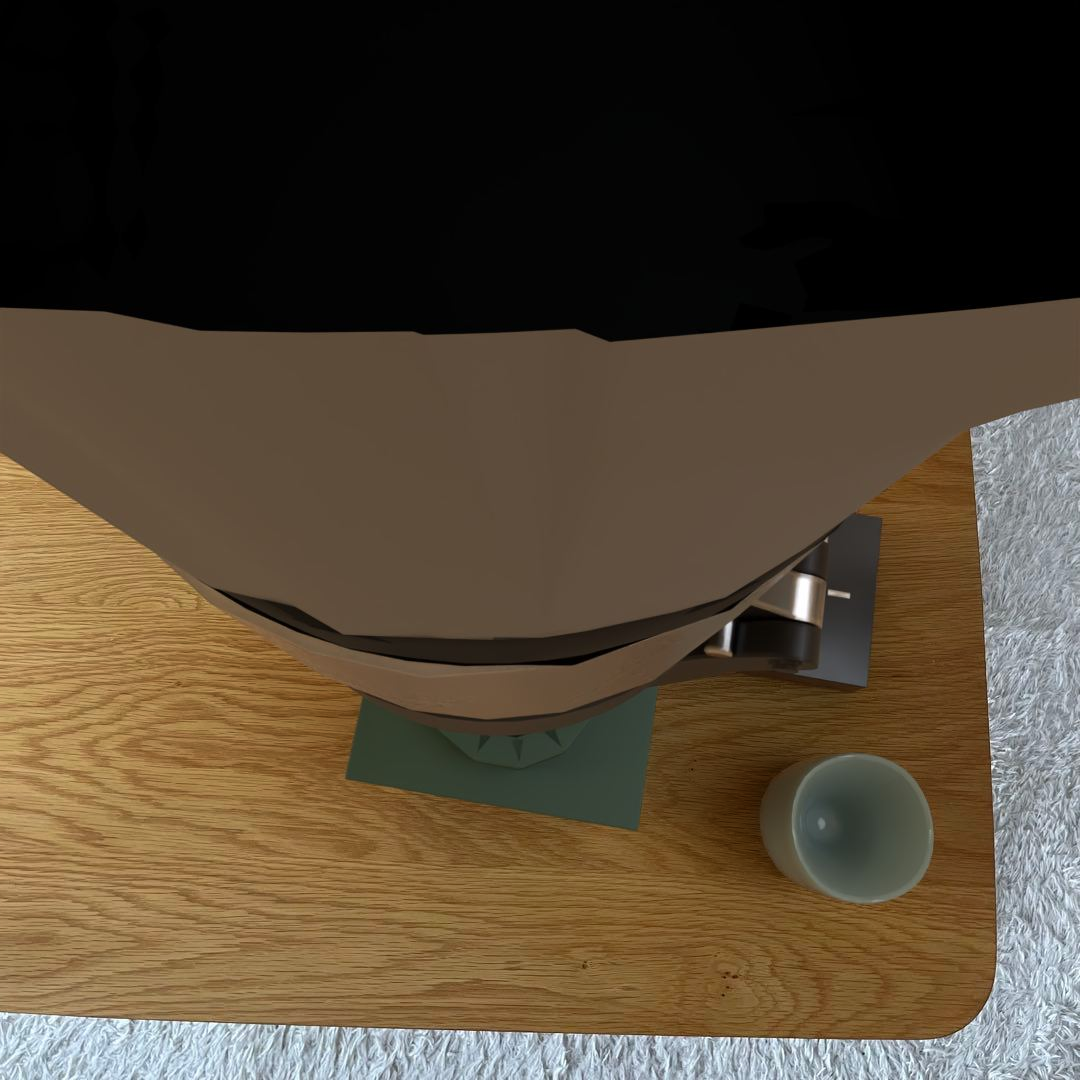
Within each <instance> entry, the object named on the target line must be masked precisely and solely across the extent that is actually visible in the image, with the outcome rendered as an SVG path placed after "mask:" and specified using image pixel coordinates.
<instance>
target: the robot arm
mask: <svg viewBox="0 0 1080 1080" xmlns="http://www.w3.org/2000/svg"><path fill="white" fill-rule="evenodd" d="M1078 399H1080V0H0V454H2V455H4V456H5V457H6V458H8V459H10V460H11V461H13V462H14V463H16V464H18V465H19V466H20V467H22V468H24V469H25V470H26V471H29V472H30V473H31V474H33V475H34V476H36V477H38V478H39V479H40V480H42V481H43V482H45V483H46V484H48V485H49V486H51V487H53V488H54V489H56V490H58V491H59V492H60V493H62V494H63V495H65V496H66V497H68V498H69V499H71V500H72V501H74V502H75V503H77V504H79V505H80V506H82V507H84V508H85V509H86V510H88V511H89V512H91V513H92V514H94V515H95V516H97V517H99V518H101V519H102V520H103V521H104V522H107V523H108V524H109V525H111V526H112V527H114V528H116V529H117V530H119V531H120V532H121V533H123V534H125V535H126V536H128V537H129V538H130V539H133V540H134V541H136V542H137V543H138V544H140V545H141V546H143V547H145V548H146V549H147V550H150V551H151V552H152V553H154V554H155V555H156V556H158V558H160V559H161V561H163V562H164V563H165V564H166V565H167V566H168V567H170V569H172V570H173V571H174V572H175V573H176V574H177V575H178V576H179V577H180V578H181V579H182V580H184V581H185V582H186V583H187V584H188V585H189V586H190V587H191V588H192V589H193V590H195V592H196V593H198V594H199V595H200V596H201V597H202V598H203V599H204V600H205V601H207V603H209V604H210V605H212V606H213V607H214V608H216V609H218V610H219V611H221V612H223V613H224V614H225V615H227V616H229V617H230V618H231V619H233V620H235V621H236V622H237V623H239V624H241V625H242V626H244V627H246V628H247V629H249V630H250V631H252V632H253V633H255V634H256V635H257V636H260V637H261V638H263V639H264V640H266V641H267V642H269V643H270V644H272V645H273V646H275V647H276V648H278V649H280V650H281V651H283V653H286V654H287V655H289V656H291V658H293V659H295V660H297V661H298V662H300V663H301V664H302V665H304V666H306V667H308V668H309V669H311V670H312V671H314V672H315V673H316V674H318V675H320V676H321V677H323V678H326V679H329V680H331V681H334V682H337V683H339V684H342V685H344V686H345V687H348V688H349V689H351V690H352V691H353V692H355V693H356V694H358V695H360V696H361V697H362V696H363V697H364V698H366V699H368V700H369V701H371V702H372V703H374V704H376V705H378V706H380V707H382V708H384V709H386V710H388V711H390V712H392V713H394V714H397V715H399V716H401V717H404V718H406V719H409V720H411V721H414V722H417V723H421V724H424V725H427V726H430V727H434V728H438V729H443V730H447V731H452V732H458V733H465V734H473V735H489V736H506V735H523V734H531V733H539V732H544V731H549V730H554V729H559V728H562V727H566V726H569V725H573V724H576V723H579V722H582V721H585V720H587V719H590V718H592V717H595V716H598V715H600V714H602V713H604V712H606V711H608V710H610V709H612V708H614V707H616V706H618V705H620V704H622V703H624V702H625V701H627V700H629V699H630V698H632V697H634V696H635V695H637V694H638V693H640V692H641V691H643V690H644V689H645V688H649V687H655V686H658V687H660V686H666V685H670V684H676V683H683V682H688V681H694V680H699V679H704V678H711V677H716V676H723V675H728V674H735V672H740V671H777V672H781V673H789V674H797V673H798V670H815V669H817V668H818V664H819V654H820V644H821V634H822V632H821V630H822V625H823V615H824V605H825V595H826V585H827V583H826V582H827V575H828V565H829V555H830V545H829V544H828V543H827V542H825V541H824V540H825V539H826V538H827V537H828V536H829V535H830V534H832V533H833V532H834V531H836V530H837V529H838V528H839V526H840V525H841V524H842V523H843V521H844V520H845V519H846V518H847V517H849V516H850V515H851V514H853V513H856V512H857V511H858V510H860V509H861V508H863V507H864V506H865V505H866V504H868V503H869V502H871V501H872V500H873V499H875V498H876V497H878V496H880V494H882V493H883V492H886V491H887V490H888V489H889V488H890V487H891V486H893V485H894V484H896V483H897V482H898V481H900V480H901V479H902V478H903V477H905V476H907V474H909V473H910V472H912V471H913V470H914V469H916V468H917V467H918V466H920V465H922V464H923V463H924V462H925V461H927V460H928V459H929V458H931V457H932V456H934V455H935V454H936V453H937V452H939V451H940V450H942V449H943V448H945V447H946V446H947V445H949V444H950V443H951V442H952V441H954V440H956V439H957V438H958V437H959V436H961V435H962V434H963V433H965V432H966V431H969V430H971V429H973V428H974V429H975V428H977V427H980V426H982V425H986V424H989V423H992V422H995V421H998V420H1001V419H1005V418H1007V417H1011V416H1013V415H1017V414H1018V413H1020V414H1021V413H1024V412H1027V411H1031V410H1036V409H1040V408H1045V407H1049V406H1054V405H1056V404H1061V403H1064V402H1069V401H1073V400H1078Z"/></svg>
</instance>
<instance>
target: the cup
mask: <svg viewBox="0 0 1080 1080" xmlns="http://www.w3.org/2000/svg"><path fill="white" fill-rule="evenodd" d="M758 819H759V821H758V823H759V824H758V825H759V832H760V836H761V840H762V844H763V847H764V849H765V851H766V853H767V856H768V857H769V859H770V860H771V862H772V864H773V865H774V866H775V867H776V869H777V870H778V871H779V872H780V873H781V874H782V875H783V877H785V878H786V879H788V880H789V881H791V882H793V883H794V884H795V885H797V886H798V887H800V888H802V889H804V890H807V891H809V892H811V893H814V894H817V895H819V896H822V897H824V898H827V899H831V900H834V901H838V902H842V903H848V904H852V905H875V904H881V903H886V902H889V901H892V900H894V899H897V898H900V897H901V896H903V895H906V893H908V892H910V891H911V890H913V889H914V888H915V887H916V886H917V885H918V884H919V883H920V881H921V880H923V879H924V877H925V874H926V873H927V871H928V869H929V867H930V864H931V860H932V857H933V854H934V843H935V829H934V820H933V815H932V812H931V808H930V805H929V803H928V800H927V798H926V796H925V793H924V791H923V789H922V788H921V786H920V785H919V784H918V782H917V780H916V779H915V778H914V777H913V776H912V774H910V773H909V772H908V771H907V770H906V769H905V768H904V767H902V766H901V765H900V764H898V763H896V762H895V761H894V760H891V759H888V758H886V757H883V756H881V755H877V754H873V753H867V752H861V751H860V752H856V751H853V752H852V751H845V752H843V751H842V752H835V753H830V754H829V753H827V754H822V755H817V756H812V757H808V758H806V759H803V760H800V761H797V762H794V763H793V764H790V765H789V766H787V767H785V768H784V769H782V770H781V771H779V772H778V773H777V774H776V775H775V776H774V777H773V778H772V779H771V780H770V781H769V783H768V785H767V786H766V788H765V790H764V791H763V795H762V798H761V801H760V805H759V814H758Z"/></svg>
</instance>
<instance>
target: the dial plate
mask: <svg viewBox="0 0 1080 1080" xmlns="http://www.w3.org/2000/svg"><path fill="white" fill-rule="evenodd" d="M882 526H883V518H882V517H879V516H874V515H869V514H862V513H856V512H854V513H853V514H851V515H850V516H849V517H847V518H846V519H845V520H844V521H843V523H842V524H841V525H840V526H839V528H838V529H837V530H836V531H834V532H833V533H832V534H830V535H829V536H828V544H829V545H830V555H829V565H828V575H827V582H826V583H827V585H826V595H825V605H824V615H823V625H822V630H821V632H822V634H821V644H820V654H819V664H818V668H817V669H815V670H798V673H797V674H789V673H781V672H777V671H740V672H734V674H735V673H737V674H742V675H747V676H753V677H759V678H766V679H770V680H775V681H776V680H777V681H781V682H787V683H792V684H793V683H794V684H800V685H804V686H811V687H816V688H821V689H828V690H834V691H839V692H845V693H851V694H852V693H855V692H858V691H862V690H864V689H868V684H869V673H870V662H871V651H872V642H873V641H872V640H873V630H874V619H875V618H874V616H875V607H876V595H877V585H878V583H877V582H878V574H879V573H878V572H879V561H880V552H881V551H880V550H881V540H882V539H881V538H882Z"/></svg>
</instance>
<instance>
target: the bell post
mask: <svg viewBox="0 0 1080 1080" xmlns="http://www.w3.org/2000/svg"><path fill="white" fill-rule="evenodd" d="M658 693H659V686H655V687H649V688H645V689H644V690H643V691H641V692H640V693H638V694H637V695H635V696H634V697H632V698H630V699H629V700H627V701H625V702H624V703H622V704H620V705H618V706H616V707H614V708H612V709H610V710H608V711H606V712H604V713H602V714H600V715H598V716H595V717H592V718H590V719H587V720H585V721H582V722H579V723H576V724H573V725H569V726H566V727H562V728H559V729H554V730H549V731H544V732H539V733H531V734H523V735H506V736H489V735H473V734H465V733H458V732H452V731H447V730H443V729H438V728H434V727H430V726H427V725H424V724H421V723H417V722H414V721H411V720H409V719H406V718H404V717H401V716H399V715H397V714H394V713H392V712H390V711H388V710H386V709H384V708H382V707H380V706H378V705H376V704H374V703H372V702H371V701H369V700H368V699H366V698H364V697H363V696H361V700H360V701H361V702H360V706H359V710H358V711H359V712H358V715H357V719H356V723H355V724H356V725H355V728H354V733H353V734H354V735H353V739H352V743H351V748H350V752H349V757H348V761H347V766H346V771H345V775H344V779H345V780H347V781H348V780H349V781H353V782H357V783H363V784H370V785H375V786H381V787H386V788H391V789H397V790H403V791H409V792H415V793H420V794H426V795H430V796H436V797H442V798H449V799H453V800H459V801H465V802H469V803H470V802H471V803H476V804H482V805H487V806H492V807H498V808H504V809H509V810H515V811H521V812H525V813H530V814H531V813H532V814H537V815H543V816H549V817H553V818H559V819H564V820H570V821H576V822H582V823H586V824H587V823H589V824H592V825H593V824H594V825H598V826H603V827H604V826H605V827H610V828H615V829H616V828H617V829H621V830H625V831H633V832H638V831H639V827H640V819H641V813H642V805H643V800H644V791H645V784H646V777H647V771H648V763H649V755H650V751H651V750H650V748H651V743H652V742H651V741H652V736H653V729H654V722H655V721H654V720H655V714H656V713H655V712H656V706H657V699H658Z"/></svg>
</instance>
